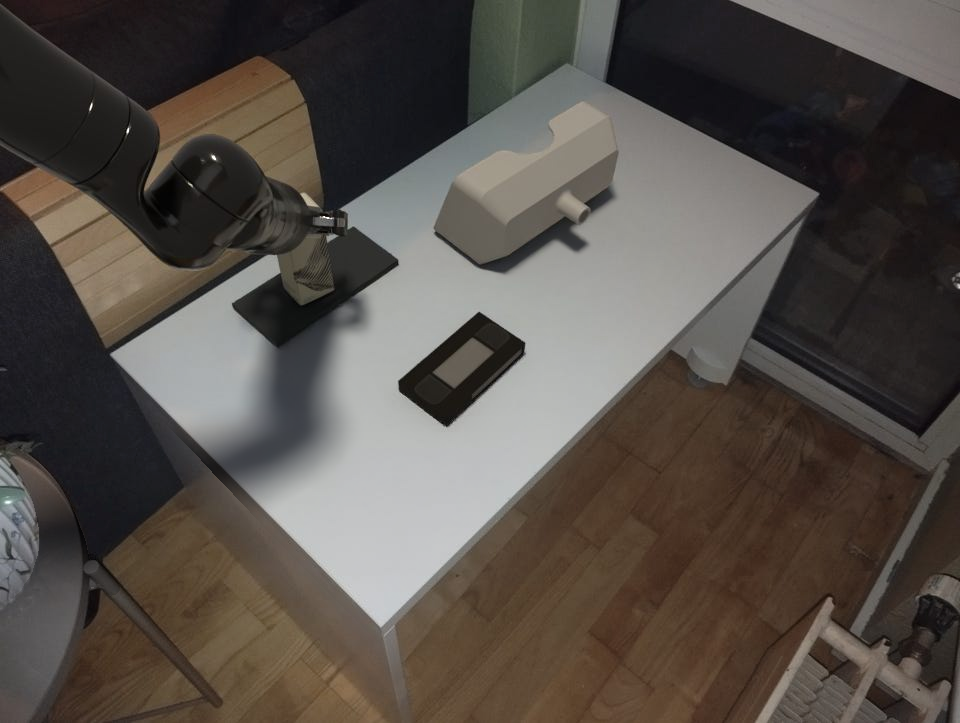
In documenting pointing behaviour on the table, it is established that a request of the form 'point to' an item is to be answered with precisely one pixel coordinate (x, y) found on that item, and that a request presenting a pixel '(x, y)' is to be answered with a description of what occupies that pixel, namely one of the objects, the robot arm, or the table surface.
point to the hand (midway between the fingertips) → (301, 224)
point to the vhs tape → (461, 368)
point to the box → (307, 267)
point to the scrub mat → (286, 318)
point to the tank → (530, 187)
